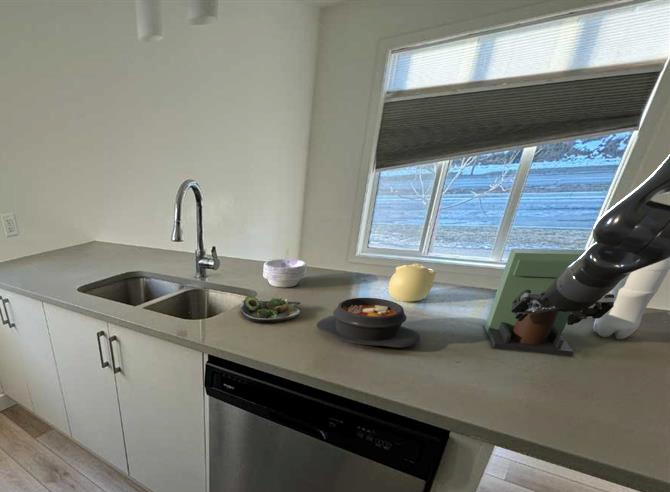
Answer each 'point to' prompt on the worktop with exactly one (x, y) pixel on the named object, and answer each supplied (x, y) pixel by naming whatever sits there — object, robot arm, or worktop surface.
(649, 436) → the worktop surface
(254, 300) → the salad plate
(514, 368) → the worktop surface
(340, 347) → the worktop surface
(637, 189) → the robot arm
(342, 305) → the casserole
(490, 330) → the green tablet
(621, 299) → the water bottle
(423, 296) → the pale yellow rounded lump
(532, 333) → the brown cylinder canister
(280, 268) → the paper bowls
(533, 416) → the worktop surface
